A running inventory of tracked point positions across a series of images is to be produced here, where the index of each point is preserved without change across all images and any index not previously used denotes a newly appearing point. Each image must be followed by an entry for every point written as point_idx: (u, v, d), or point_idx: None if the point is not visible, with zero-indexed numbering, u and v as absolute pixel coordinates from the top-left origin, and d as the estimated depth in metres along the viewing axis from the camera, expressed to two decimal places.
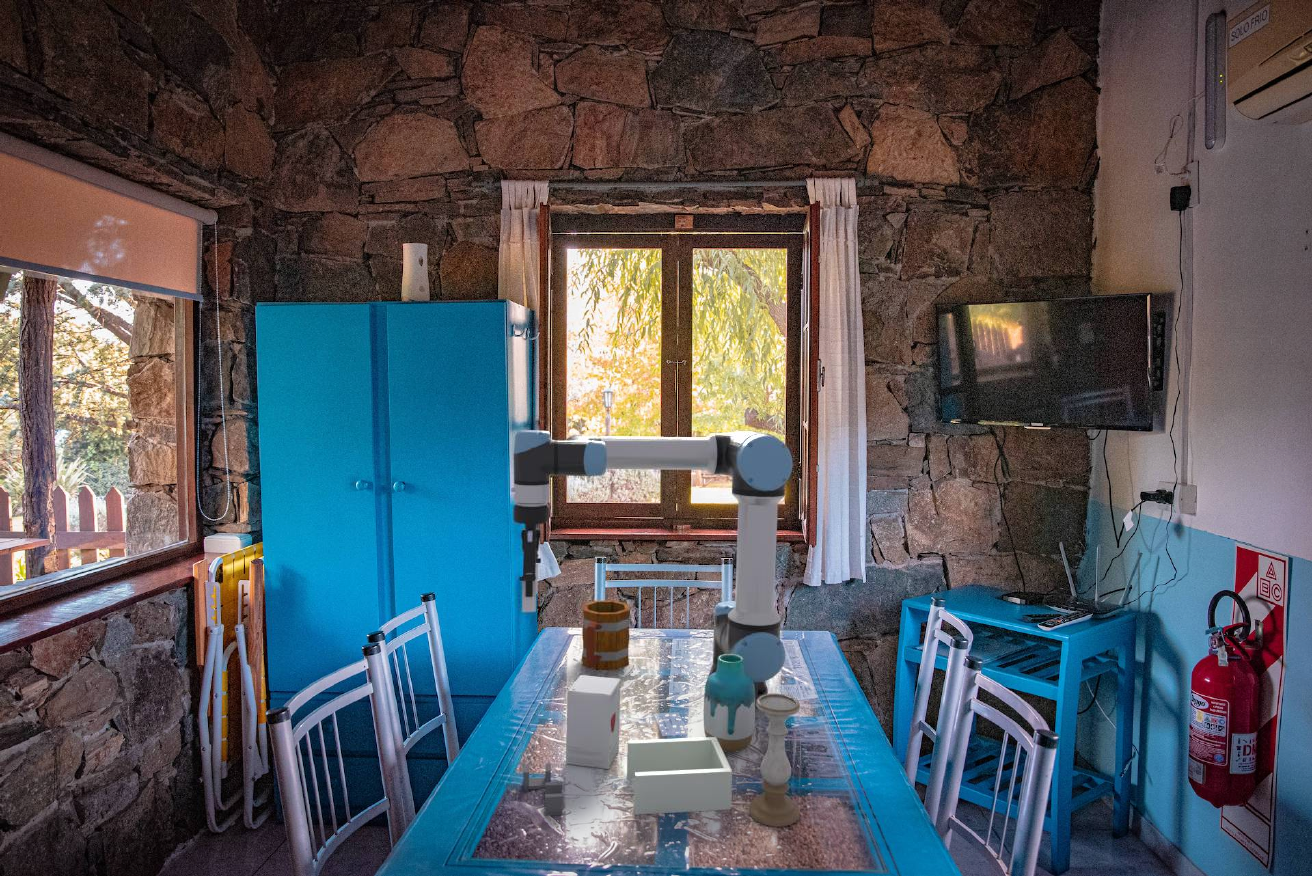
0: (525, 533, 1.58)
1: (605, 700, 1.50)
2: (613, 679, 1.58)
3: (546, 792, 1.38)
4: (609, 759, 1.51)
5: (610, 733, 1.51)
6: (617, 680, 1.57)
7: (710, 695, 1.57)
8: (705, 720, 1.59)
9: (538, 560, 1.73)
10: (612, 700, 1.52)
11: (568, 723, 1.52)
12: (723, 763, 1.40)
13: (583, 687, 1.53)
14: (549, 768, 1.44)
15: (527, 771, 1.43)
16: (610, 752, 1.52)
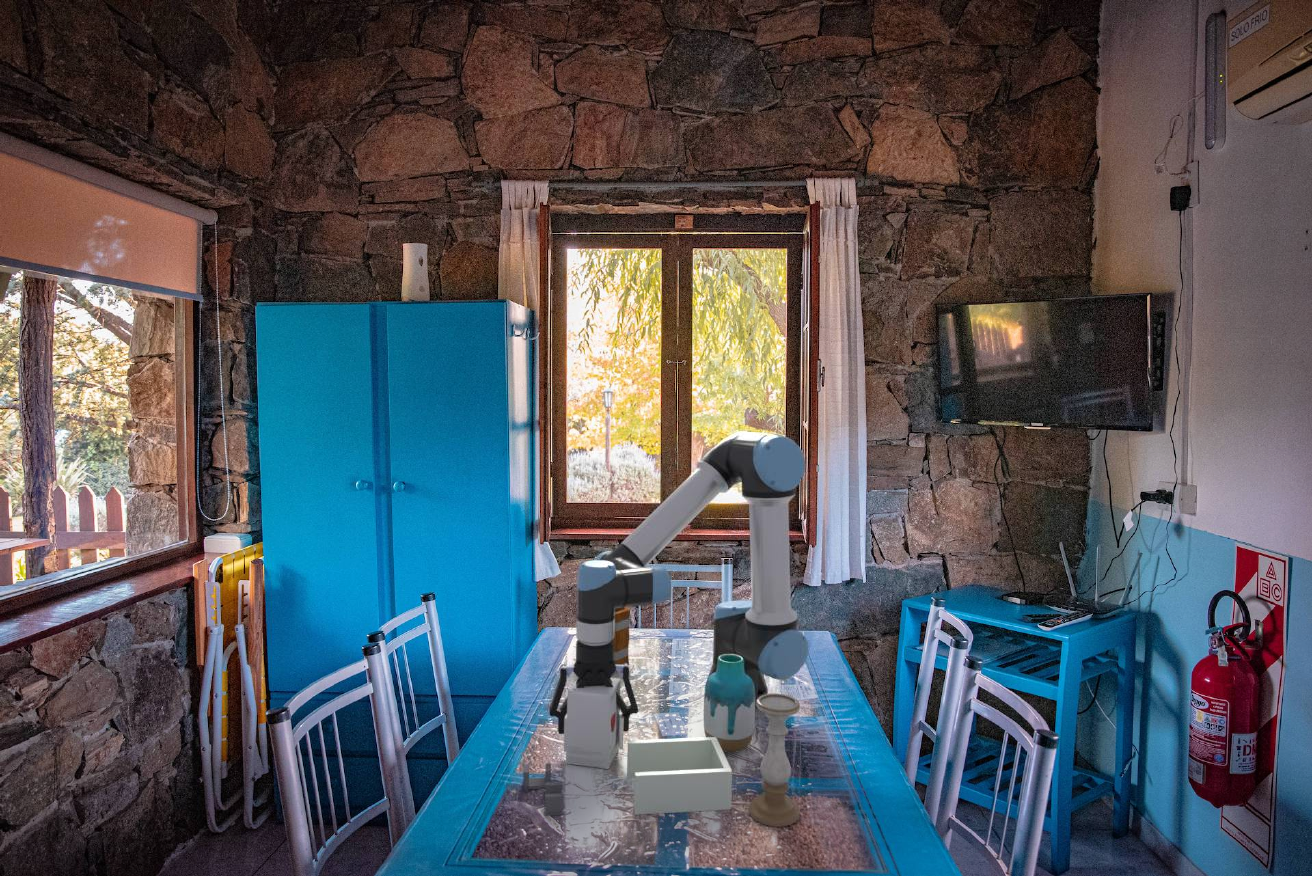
0: (560, 666, 1.54)
1: (605, 700, 1.50)
2: (613, 679, 1.58)
3: (546, 792, 1.38)
4: (609, 759, 1.51)
5: (610, 733, 1.51)
6: (617, 680, 1.57)
7: (710, 695, 1.57)
8: (705, 720, 1.59)
9: (626, 714, 1.55)
10: (612, 700, 1.52)
11: (568, 723, 1.52)
12: (723, 763, 1.40)
13: None
14: (549, 768, 1.44)
15: (527, 771, 1.43)
16: (610, 752, 1.52)
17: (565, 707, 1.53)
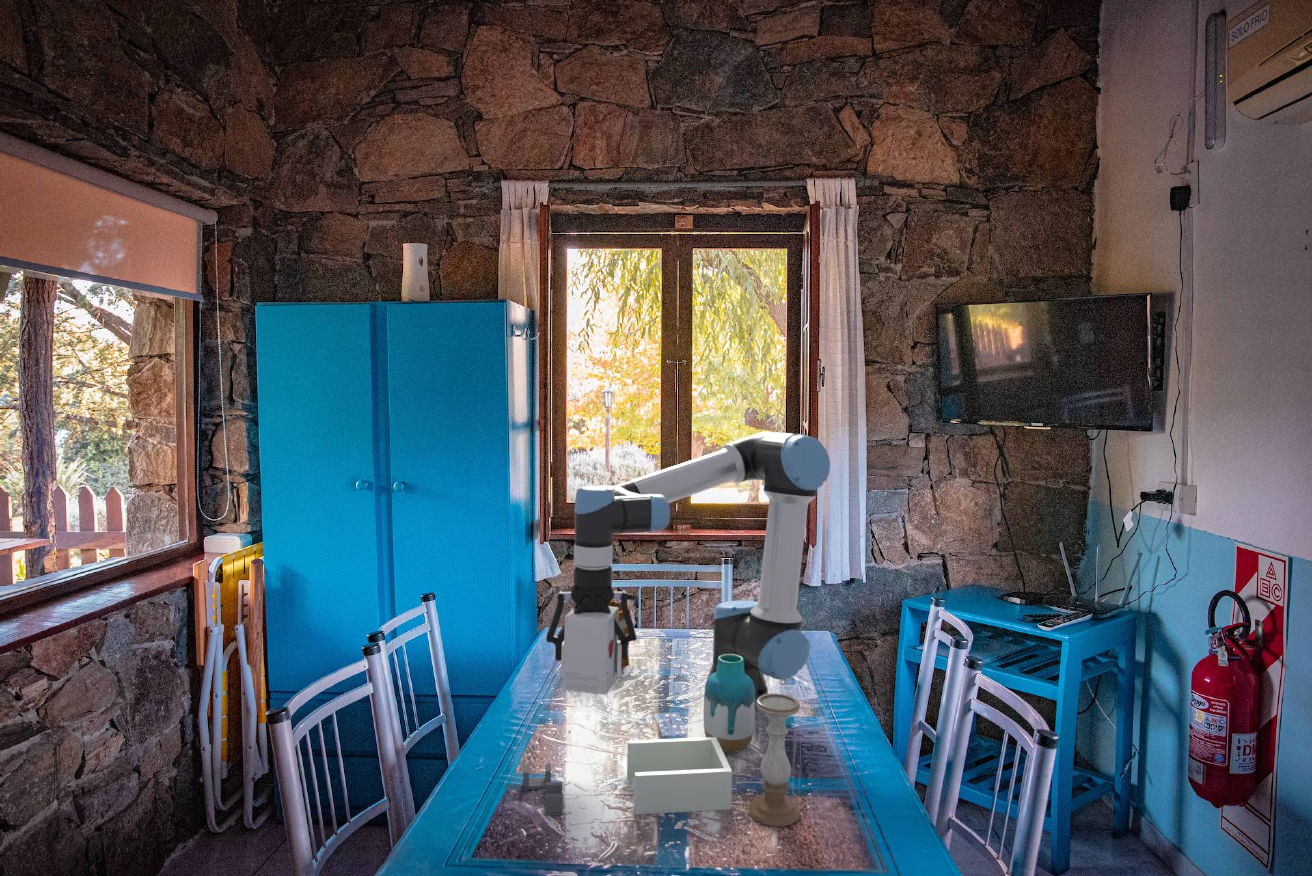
0: None
1: (603, 624, 1.48)
2: (611, 607, 1.56)
3: (546, 792, 1.38)
4: (607, 685, 1.50)
5: (608, 658, 1.49)
6: (615, 608, 1.56)
7: (710, 695, 1.57)
8: (705, 720, 1.59)
9: (624, 641, 1.53)
10: (610, 625, 1.50)
11: (565, 648, 1.50)
12: (723, 763, 1.40)
13: None
14: (549, 768, 1.44)
15: (527, 771, 1.43)
16: (608, 678, 1.50)
17: (562, 633, 1.51)
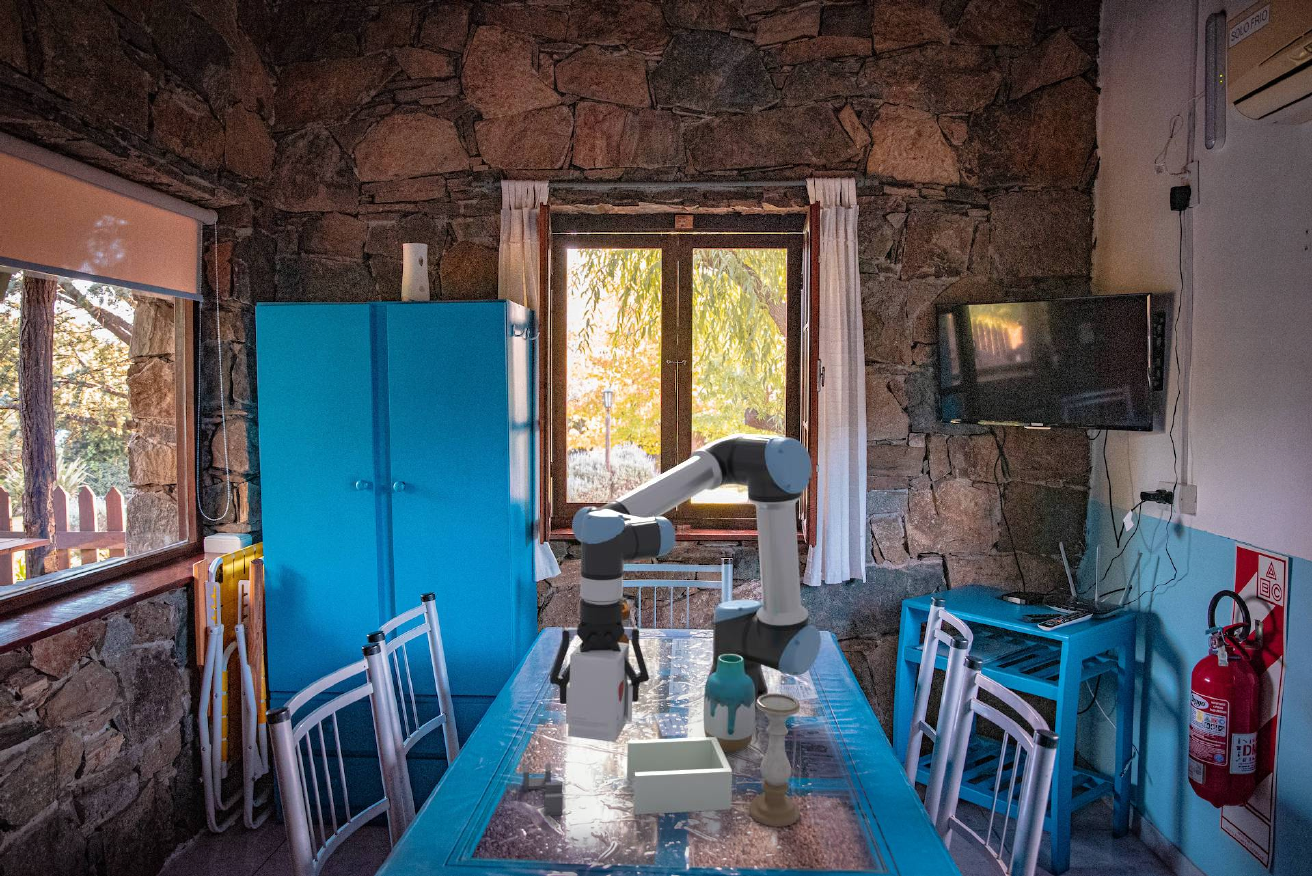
0: (562, 629, 1.39)
1: (612, 665, 1.34)
2: (621, 643, 1.42)
3: (546, 792, 1.38)
4: (617, 731, 1.35)
5: (618, 702, 1.35)
6: (625, 644, 1.42)
7: (710, 695, 1.57)
8: (705, 720, 1.59)
9: (635, 682, 1.39)
10: (620, 665, 1.36)
11: (571, 691, 1.36)
12: (723, 763, 1.40)
13: None
14: (549, 768, 1.44)
15: (527, 771, 1.43)
16: (618, 723, 1.36)
17: (568, 674, 1.37)
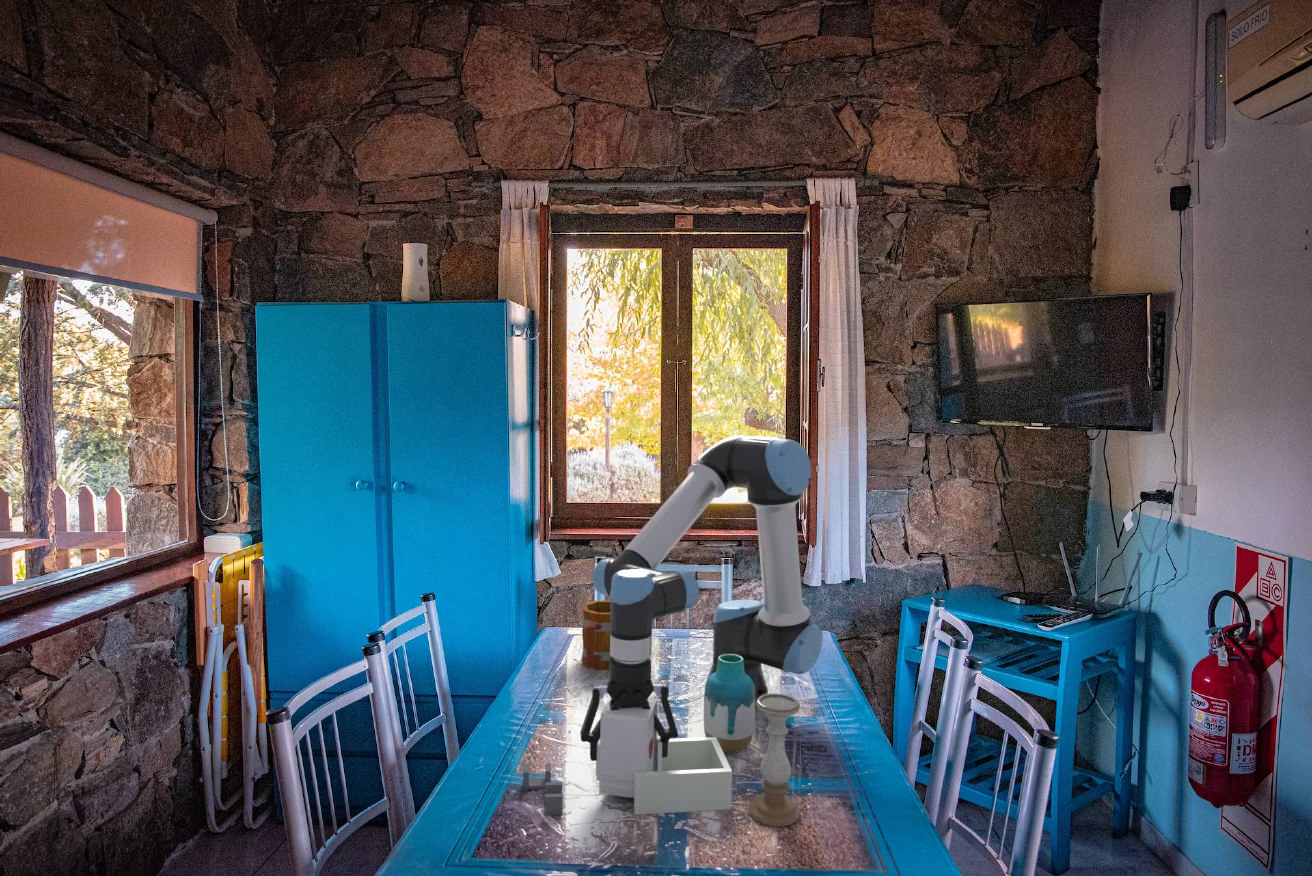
0: (592, 686, 1.40)
1: (643, 724, 1.36)
2: (650, 699, 1.44)
3: (546, 792, 1.38)
4: None
5: (648, 760, 1.37)
6: (654, 700, 1.43)
7: (710, 695, 1.57)
8: (705, 720, 1.59)
9: (664, 739, 1.41)
10: (650, 724, 1.37)
11: (602, 749, 1.38)
12: (723, 763, 1.40)
13: None
14: (549, 768, 1.44)
15: (527, 771, 1.43)
16: None
17: (598, 731, 1.39)
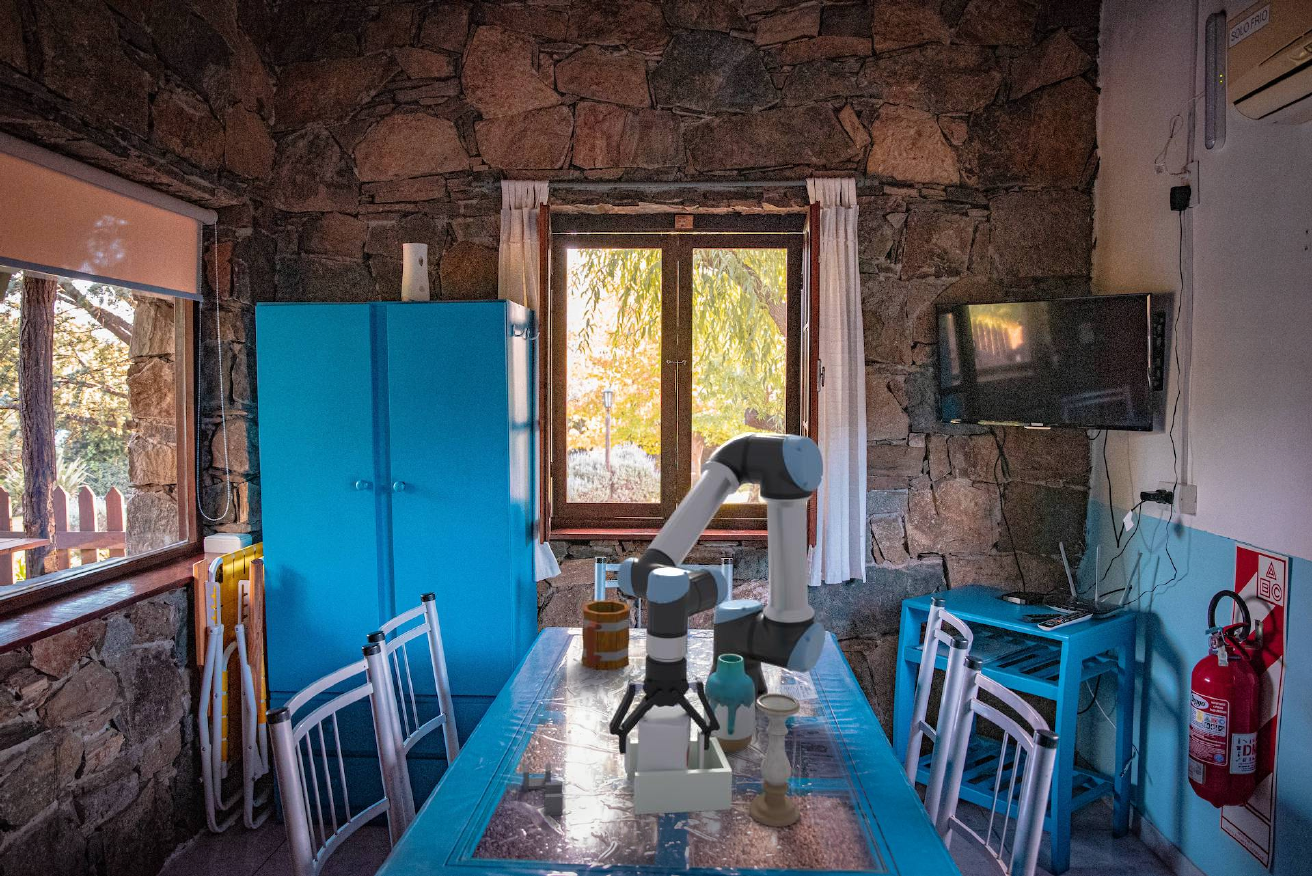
0: (628, 681, 1.41)
1: (681, 732, 1.37)
2: None
3: (546, 792, 1.38)
4: None
5: (686, 768, 1.38)
6: None
7: (710, 695, 1.57)
8: (705, 720, 1.59)
9: (707, 731, 1.41)
10: (687, 732, 1.39)
11: (639, 758, 1.38)
12: (723, 763, 1.40)
13: (654, 717, 1.40)
14: (549, 768, 1.44)
15: (527, 771, 1.43)
16: None
17: (629, 725, 1.40)
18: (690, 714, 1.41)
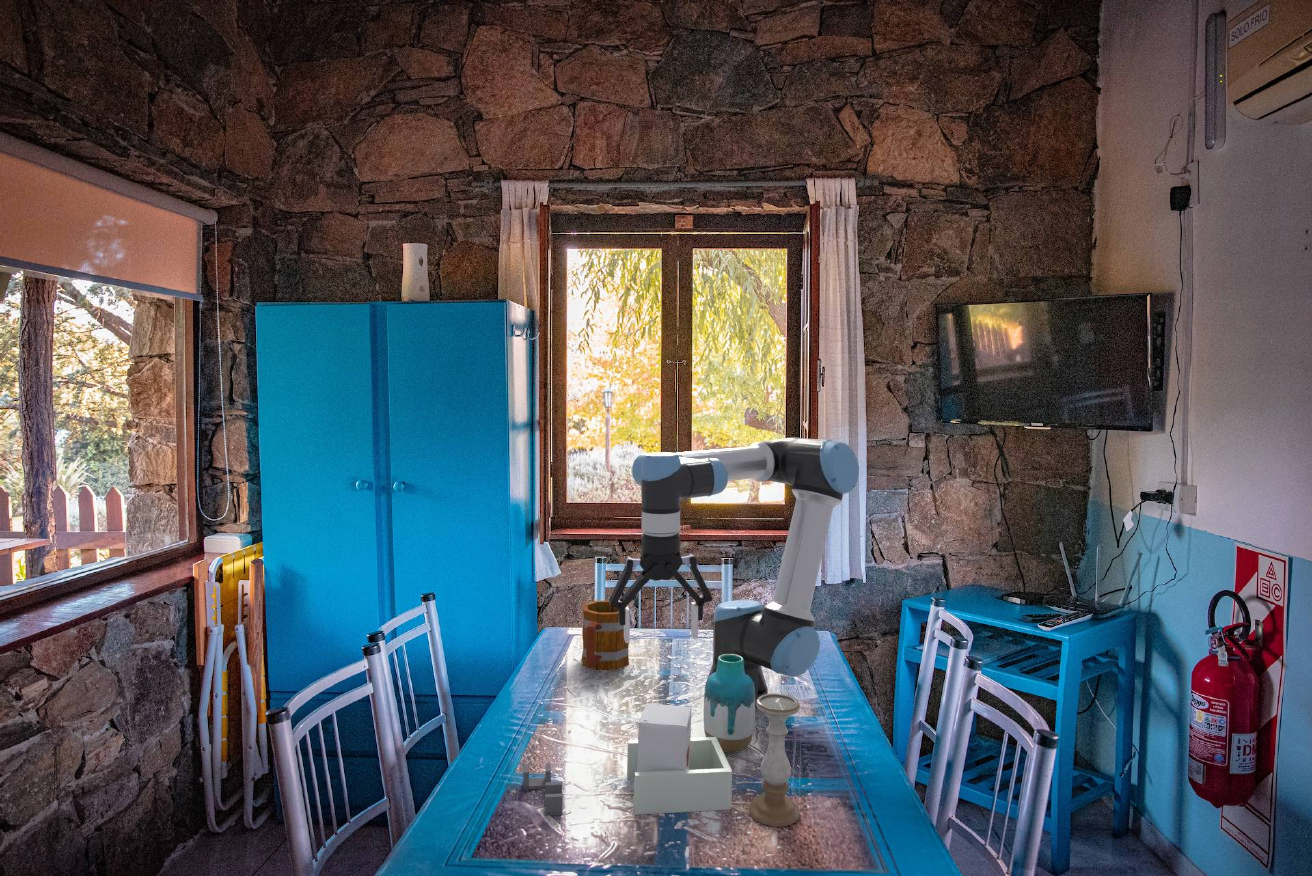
0: (626, 558, 1.51)
1: (681, 732, 1.37)
2: (684, 707, 1.45)
3: (546, 792, 1.38)
4: None
5: (686, 768, 1.38)
6: (688, 708, 1.44)
7: (710, 695, 1.57)
8: (705, 720, 1.59)
9: (700, 602, 1.52)
10: (688, 732, 1.39)
11: (639, 758, 1.38)
12: (723, 763, 1.40)
13: (654, 717, 1.40)
14: (549, 768, 1.44)
15: (527, 771, 1.43)
16: None
17: (627, 598, 1.50)
18: (684, 587, 1.51)
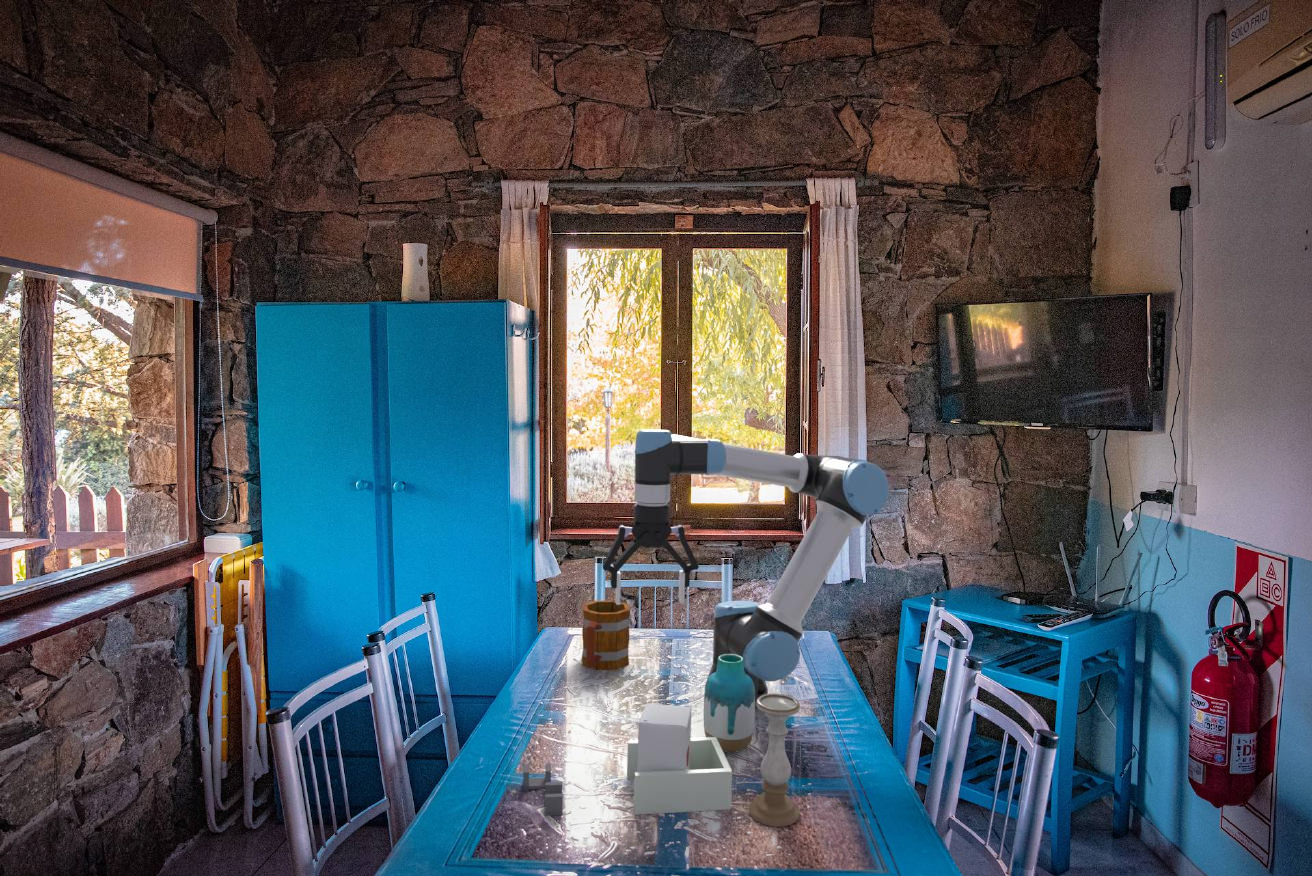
0: (619, 526, 1.63)
1: (681, 732, 1.37)
2: (684, 707, 1.45)
3: (546, 792, 1.38)
4: None
5: (686, 768, 1.38)
6: (688, 708, 1.44)
7: (710, 695, 1.57)
8: (705, 720, 1.59)
9: (687, 570, 1.63)
10: (688, 732, 1.39)
11: (639, 758, 1.38)
12: (723, 763, 1.40)
13: (654, 717, 1.40)
14: (549, 768, 1.44)
15: (527, 771, 1.43)
16: None
17: (619, 563, 1.62)
18: (672, 554, 1.63)
